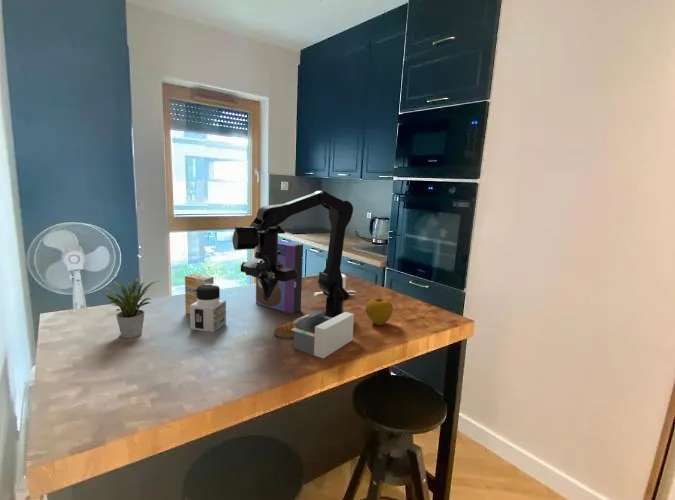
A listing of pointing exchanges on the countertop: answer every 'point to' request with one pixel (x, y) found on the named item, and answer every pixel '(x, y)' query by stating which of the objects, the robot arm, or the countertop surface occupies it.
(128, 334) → the house plant
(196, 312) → the container
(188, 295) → the supplement box
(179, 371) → the countertop surface
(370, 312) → the apple
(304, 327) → the gauge pad
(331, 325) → the white grey open box
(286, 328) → the pastry
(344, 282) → the white wide pronged piece
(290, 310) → the cereal box
